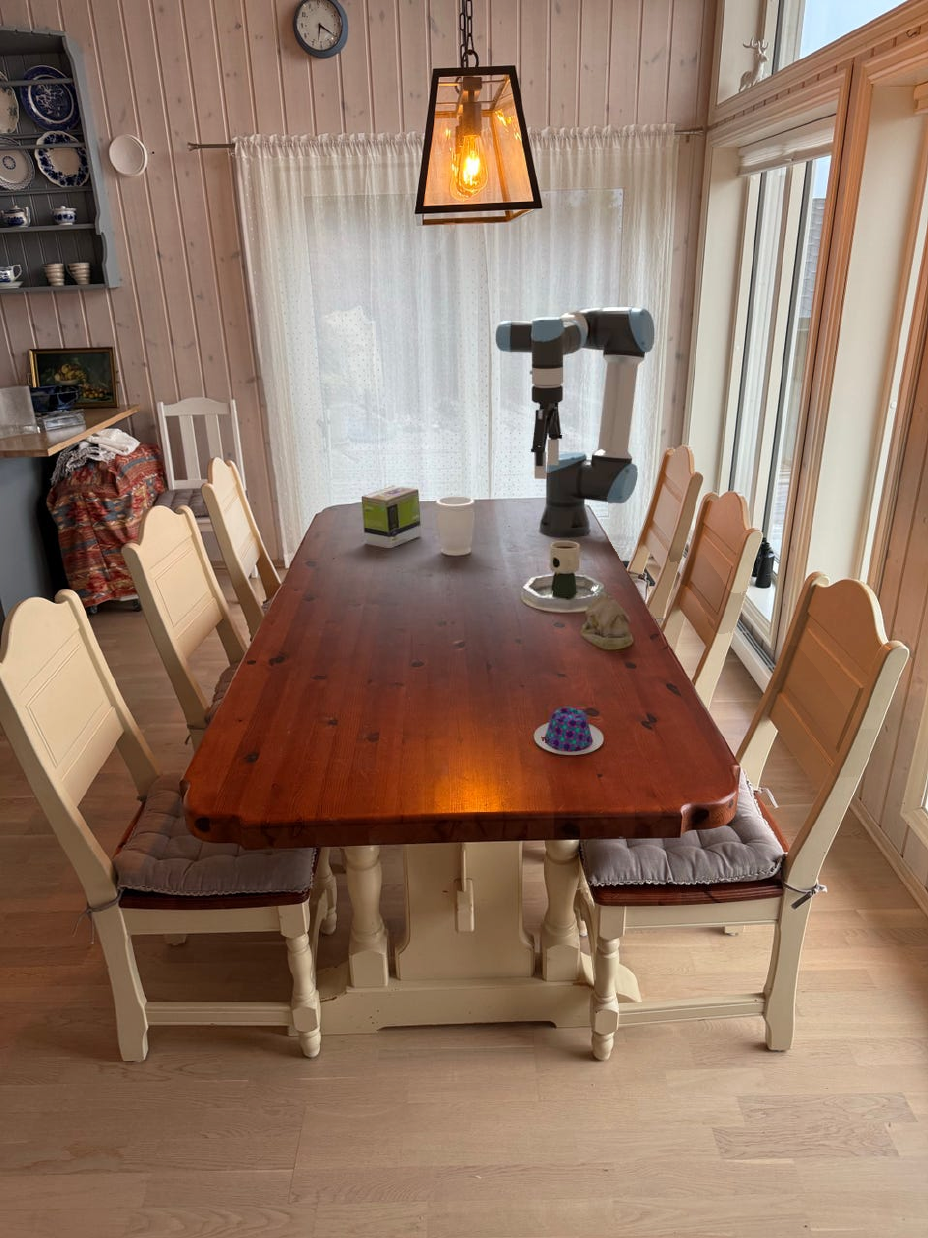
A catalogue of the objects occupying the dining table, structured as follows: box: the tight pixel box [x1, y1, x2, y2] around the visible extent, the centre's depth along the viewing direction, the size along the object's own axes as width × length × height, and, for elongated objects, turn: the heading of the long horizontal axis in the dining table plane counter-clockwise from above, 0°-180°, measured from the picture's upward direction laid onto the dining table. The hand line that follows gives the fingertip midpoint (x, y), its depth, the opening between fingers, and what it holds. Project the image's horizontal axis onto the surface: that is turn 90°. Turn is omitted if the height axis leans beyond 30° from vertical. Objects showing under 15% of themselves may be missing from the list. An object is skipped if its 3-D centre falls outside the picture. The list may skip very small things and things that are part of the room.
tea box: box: [361, 485, 422, 549], centre depth 262 cm, size 15×10×15 cm
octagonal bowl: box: [520, 573, 606, 614], centre depth 218 cm, size 21×21×3 cm
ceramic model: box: [580, 593, 634, 651], centre depth 194 cm, size 14×11×10 cm
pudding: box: [533, 706, 604, 756], centre depth 153 cm, size 12×12×5 cm
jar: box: [436, 496, 475, 557], centre depth 250 cm, size 11×10×15 cm
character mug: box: [549, 540, 581, 598], centre depth 216 cm, size 11×7×13 cm, turn 14°
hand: (546, 471), depth 223 cm, fingers open, 13 cm apart
